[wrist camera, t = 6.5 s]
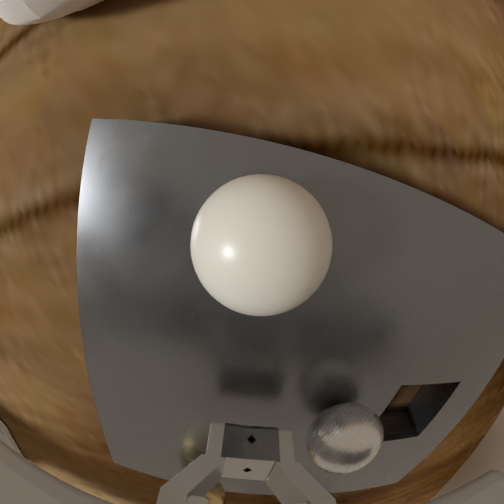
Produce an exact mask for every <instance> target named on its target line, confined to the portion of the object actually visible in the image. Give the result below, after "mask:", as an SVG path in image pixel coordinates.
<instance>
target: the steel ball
mask: <svg viewBox="0 0 504 504" xmlns="http://www.w3.org/2000/svg"><path fill="white" fill-rule="evenodd" d="M383 437H384V430H383V425H382V422H381V420H380V418H379V417H378V415H377V414H376V413H375V412H374V411H373V410H372V409H370V408H369V407H367V406H365V405H363V404H359V403H354V402H344V403H339V404H335V405H333V406H330V407H328V408H327V409H325V410H323V411H322V412H321V413H319V414H318V415H317V416H316V417H315V418H314V420H313V421H312V422H311V424H310V426H309V428H308V430H307V433H306V438H305V447H306V451H307V454H308V456H309V458H310V460H311V461H312V462H313V463H314V464H315V465H316V466H317V467H318V468H320V469H322V470H324V471H326V472H329V473H334V474H345V473H351V472H354V471H357V470H359V469H361V468H363V467H364V466H366V465H367V464H368V463H370V462H371V461H372V460H373V459H374V458H375V456H376V455H377V454H378V452H379V450H380V448H381V446H382V443H383Z"/></svg>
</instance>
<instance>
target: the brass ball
mask: <svg viewBox="0 0 504 504" xmlns="http://www.w3.org/2000/svg"><path fill="white" fill-rule="evenodd" d="M204 497H205V498H206V499H207V500H208V504H224V503H225V500H226V493H225V490H224V488H223V486H222V484H221V483H220V482H219V481H218V482H217V483H216V485H215V486H214V487H213V488H212V489H211V490H210V491H209V492H208V493H207V494H206V495H205V496H204Z"/></svg>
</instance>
